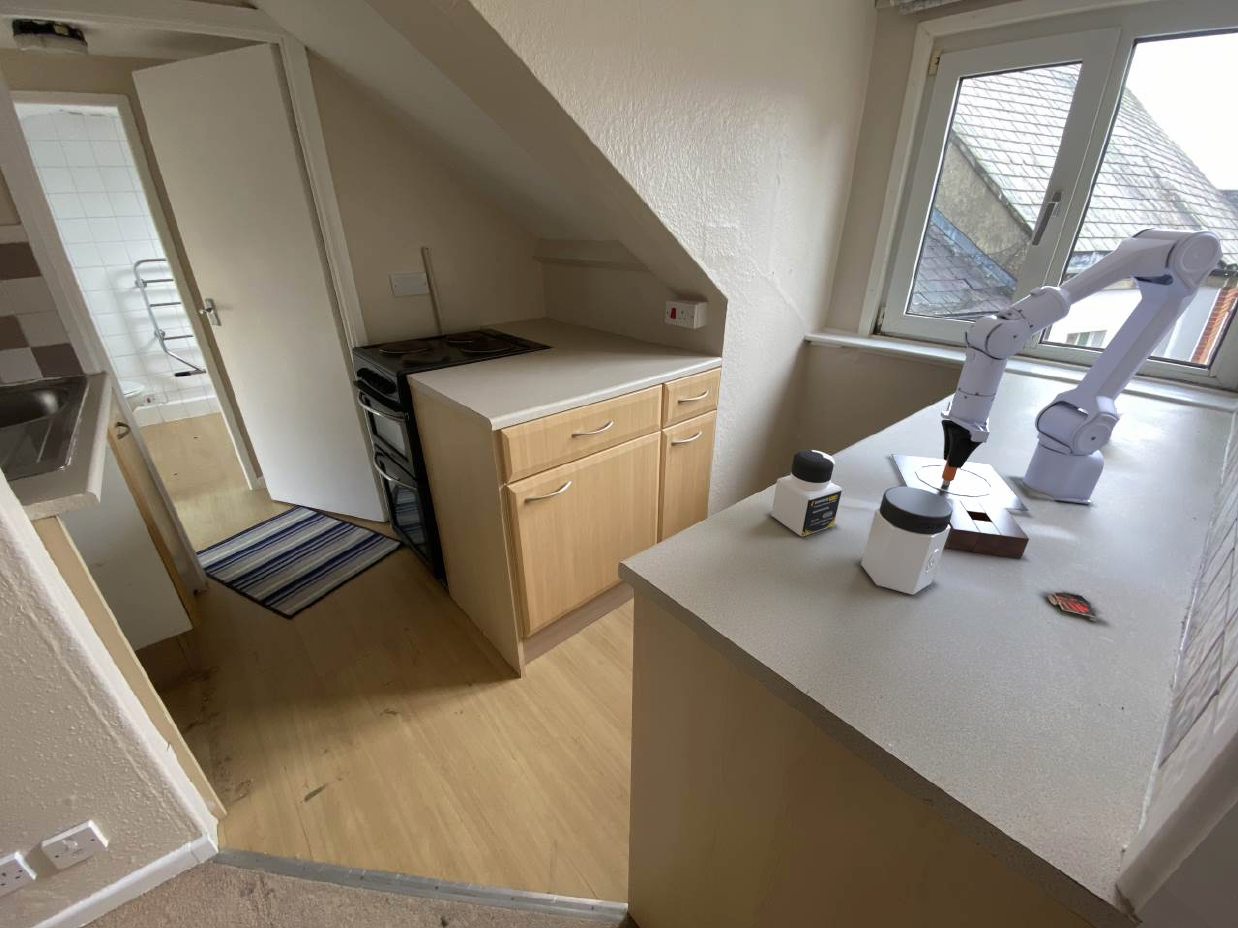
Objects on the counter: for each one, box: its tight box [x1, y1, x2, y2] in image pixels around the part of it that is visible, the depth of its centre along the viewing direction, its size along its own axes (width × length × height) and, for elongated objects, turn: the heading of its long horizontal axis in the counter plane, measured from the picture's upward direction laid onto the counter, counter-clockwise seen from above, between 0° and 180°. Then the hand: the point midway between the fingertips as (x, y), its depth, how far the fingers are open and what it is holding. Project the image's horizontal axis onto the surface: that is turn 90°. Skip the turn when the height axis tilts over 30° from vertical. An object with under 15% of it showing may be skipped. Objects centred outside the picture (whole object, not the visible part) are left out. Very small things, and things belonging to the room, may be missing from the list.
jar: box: [860, 486, 953, 596], centre depth 72 cm, size 9×8×12 cm
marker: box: [942, 454, 958, 486], centre depth 94 cm, size 2×2×10 cm
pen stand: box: [944, 498, 1030, 559], centre depth 83 cm, size 10×10×4 cm
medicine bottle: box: [771, 449, 843, 537], centre depth 84 cm, size 7×7×12 cm
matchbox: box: [1046, 591, 1100, 622], centre depth 68 cm, size 5×5×1 cm
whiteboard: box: [891, 453, 1029, 512], centre depth 98 cm, size 18×18×1 cm
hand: (952, 463), depth 95 cm, fingers closed on marker, 2 cm apart
